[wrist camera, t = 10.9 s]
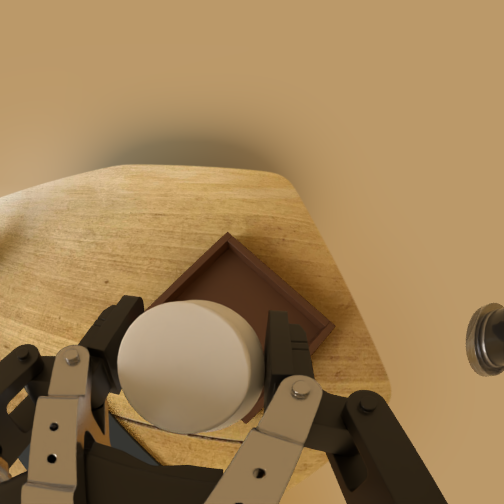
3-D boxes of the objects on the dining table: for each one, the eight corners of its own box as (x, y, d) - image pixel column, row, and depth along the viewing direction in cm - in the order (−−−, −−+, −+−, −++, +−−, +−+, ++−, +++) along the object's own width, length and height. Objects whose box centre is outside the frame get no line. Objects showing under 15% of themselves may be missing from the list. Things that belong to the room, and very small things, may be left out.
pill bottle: (171, 319, 17) (107, 271, 8) (259, 323, 17) (274, 278, 9) (167, 406, 15) (96, 436, 6) (257, 411, 15) (271, 457, 7)
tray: (329, 328, 31) (335, 325, 29) (246, 419, 27) (246, 424, 25) (228, 240, 35) (227, 231, 33) (145, 321, 31) (138, 317, 29)
